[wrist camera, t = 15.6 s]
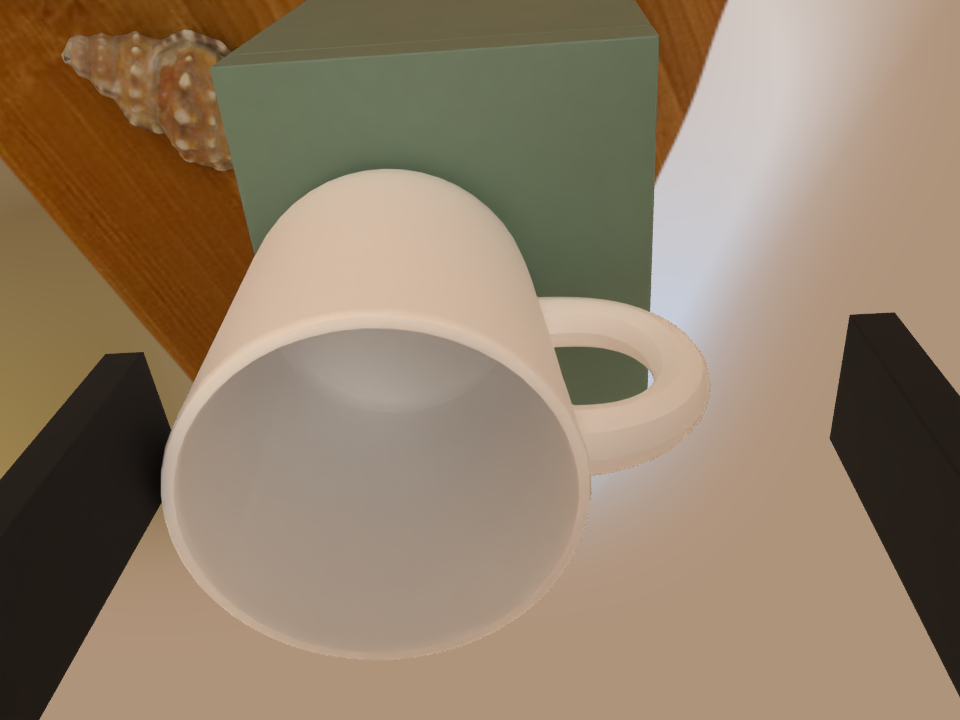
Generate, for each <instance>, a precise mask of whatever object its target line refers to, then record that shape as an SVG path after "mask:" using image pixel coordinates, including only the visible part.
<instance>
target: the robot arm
mask: <svg viewBox="0 0 960 720" xmlns="http://www.w3.org/2000/svg"><path fill="white" fill-rule="evenodd" d="M170 432H171V429H170V426H169V423H168V420H167V418H166V415H165V412H164V409H163V406H162V403H161V400H160V398H159V395H158V392H157V389H156V386H155V384H154V381H153V378H152V375H151V373H150V370H149V367H148V364H147V361H146V358H145V356H144V353H143V352H138V353H119V354H105V355H104V357H103V358H102V359H101V360H100V361H99V363H98V364H97V365H96V366H95V367H94V369H93V370H92V371H91V372H90V373H89V374H88V376H87V377H86V378H85V379H84V381H83V382H82V383H81V384H80V385H79V386H78V388H77V389H76V390H75V391H74V393H72V395H71V396H70V397H69V398H68V399H67V401H66V402H65V403H64V404H63V406H62V407H61V408H60V409H59V410H58V411H57V413H56V414H55V415H54V416H53V417H52V419H51V420H50V421H49V422H48V423H47V425H46V426H45V427H44V428H43V430H42V431H41V432H40V433H39V434H38V435H37V437H36V438H35V439H34V440H33V441H32V442H31V444H30V445H29V446H28V447H27V448H26V450H25V451H24V452H23V453H22V454H21V456H20V457H19V458H18V459H17V460H16V462H15V463H14V464H13V465H12V466H11V468H10V469H9V470H8V471H7V472H6V474H5V475H4V476H3V477H2V478H1V479H0V720H39V719H40V717H41V715H42V714H43V712H44V710H45V709H46V707H47V705H48V703H49V701H50V700H51V698H52V696H53V694H54V692H55V691H56V689H57V687H58V685H59V684H60V682H61V680H62V678H63V677H64V675H65V673H66V671H67V669H68V667H69V666H70V664H71V662H72V660H73V659H74V657H75V655H76V653H77V652H78V650H79V648H80V646H81V645H82V643H83V641H84V639H85V637H86V636H87V634H88V632H89V630H90V628H91V627H92V625H93V623H94V622H95V620H96V618H97V616H98V614H99V612H100V610H101V609H102V607H103V606H104V604H105V602H106V600H107V598H108V597H109V595H110V593H111V591H112V590H113V588H114V586H115V584H116V582H117V581H118V579H119V577H120V575H121V574H122V572H123V570H124V568H125V566H126V565H127V563H128V561H129V559H130V557H131V556H132V554H133V552H134V550H135V549H136V547H137V545H138V543H139V541H140V540H141V538H142V536H143V534H144V533H145V531H146V529H147V527H148V526H149V524H150V522H151V520H152V518H153V517H154V515H155V513H156V511H157V510H158V508H159V506H160V504H161V503H162V500H161V468H162V462H163V456H164V451H165V446H166V444H167V441H168V438H169V435H170ZM830 440H831V442H832V444H833V446H834V448H835V450H836V452H837V454H838V456H839V458H840V460H841V462H842V464H843V466H844V468H845V470H846V472H847V474H848V476H849V478H850V480H851V482H852V484H853V486H854V488H855V489H856V492H857V494H858V496H859V498H860V500H861V502H862V504H863V506H864V508H865V510H866V511H867V514H868V516H869V517H870V520H871V522H872V523H873V526H874V527H875V530H876V532H877V533H878V536H879V537H880V539H881V541H882V543H883V545H884V547H885V549H886V551H887V553H888V555H889V557H890V559H891V561H892V563H893V565H894V567H895V569H896V571H897V573H898V575H899V577H900V579H901V581H902V583H903V585H904V587H905V589H906V591H907V593H908V595H909V597H910V599H911V601H912V603H913V605H914V607H915V609H916V611H917V613H918V615H919V617H920V619H921V621H922V623H923V625H924V627H925V629H926V631H927V633H928V635H929V637H930V639H931V641H932V643H933V645H934V647H935V649H936V651H937V653H938V655H939V656H940V658H941V661H942V663H943V665H944V667H945V669H946V670H947V673H948V675H949V677H950V679H951V681H952V683H953V685H954V686H955V688H956V690H957V692H958V694H959V696H960V396H959V395H958V393H957V392H956V391H955V389H954V388H953V387H952V386H951V384H950V383H949V382H948V380H947V379H946V378H945V377H944V376H943V374H942V373H941V372H940V370H939V369H938V368H937V366H936V365H935V364H934V363H933V361H932V360H931V359H930V357H929V356H928V355H927V354H926V352H925V351H924V350H923V349H922V347H921V346H920V345H919V343H918V342H917V341H916V339H915V338H914V337H913V336H912V334H911V333H910V332H909V330H908V329H907V328H906V327H905V325H904V324H903V323H902V321H901V320H900V319H899V318H898V316H897V315H896V314H895V313H876V314H857V315H850V317H849V324H848V329H847V335H846V341H845V348H844V354H843V360H842V366H841V373H840V378H839V385H838V391H837V397H836V403H835V409H834V416H833V422H832V428H831V434H830Z"/></svg>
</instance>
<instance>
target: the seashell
mask: <svg viewBox="0 0 960 720" xmlns="http://www.w3.org/2000/svg"><path fill="white" fill-rule="evenodd" d="M230 53H231V51H230V50H229V48H228V47H227V46H226V45H225V44H224V43H223V42H221V41H219V40H217V39H214V38H211V37H208V36H206V35H203V34H200V33H197V32H194V31H192V30H182V31H179V32H177V33H174V34H172V35H170V36H168V37H166V38H164V39H162V40H161V39H154V38H152V37H146V36H144V35H142V34H140V33H139V32H137V31H133V32H131V33H129V34H123V35H117V36H114V37H113V36H109V35H107V34H104V33H102V32H101V33H98V34H96V35H92V36H88V37H85V36H83V35H76V36H73V37H71V38H70V39H69V41H68V43H67V45H66V47H65V49H64V51H63V53H62V54H61V55H62V58H63V61H64V62H65V63H66V64H69V65H71V66H72V68H73V69H74V70H75V72H76V73H77V74H78V75H79V76H80V77H83V78H86V79H89V81H90V82H91V83H92V84H93V85H94V87H95V88H96V89H97V91H98V92H99V93H100V94H101V95H104V96H106V97H109V98H112V99H114V100H115V102H116V104H117V105H118V106H119V107H120V109H121V110H122V112H123V114H124V115H125V117H126V118H127V120H128V121H129V122H130V123H131V124H133V125H134V126H137V127H140V128H144V129H147V130H150V131H152V132H154V133H157V134H166V136H167V137H168V138H169V139H170V142H171V144H172V145H173V146H174V147H175V149H176V150H177V152H178V153H179V154H180V156H181V157H182V158H183V159H184V160H185V161H187V162H190V163H192V162H195V163H197V164H200V165H205V166H208V167H212V168H214V169H216V170H219V171H225V170H232V169H234V168H233V164H232V160H231V155H230V151H229V147H228V143H227V139H226V135H225V131H224V126H223V122H222V118H221V114H220V110H219V106H218V102H217V97H216V93H215V89H214V85H213V81H212V77H211V72H210V67H211V66H213V65H214V64H216V63H217V62H219V61H220V60H222V59H223V58H224V57H226V56H227V55H228V54H230Z"/></svg>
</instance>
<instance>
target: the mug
mask: <svg viewBox="0 0 960 720" xmlns="http://www.w3.org/2000/svg"><path fill="white" fill-rule="evenodd" d="M555 347H595V348H603V349H608V350H613V351H617V352H620V353H623V354H626V355H628V356H630V357H632V358H634V359H636V360H637V361H639V362H640V363H642V364H643V365H644V366H645V367H646V368H647V369H648V370H649V371H650V372H651V373H652V376H653V378H654V382H653V384H652V386H651V387H650V388H648V389H647V390H645V391H643V392H642V393H640V394H638V395H635V396H633V397H631V398H628V399H624V400H620V401H616V402H610V403H604V404H593V405H573V404H572V403H571V400H570V397H569V393H568V391H567V388H566V385H565V382H564V379H563V376H562V373H561V370H560V366H559V363H558V360H557V356H556V353H555V350H554V348H555ZM709 394H710V379H709V374H708V370H707V365H706V362H705V360H704V358H703V356H702V354H701V353H700V351H699V349H698V348H697V347H696V345H695V344H694V343H693V342H692V340H691V339H690V338H689V337H688V336H687V335H686V334H685V333H684V332H683V331H681V330H680V329H679V328H678V327H677V326H675V325H674V324H672V323H670V322H669V321H667V320H665V319H664V318H662V317H660V316H658V315H655V314H653V313H651V312H649V311H646V310H644V309H642V308H639V307H635V306H632V305H629V304H625V303H621V302H616V301H611V300H604V299H596V298H584V297H538V296H537V295H536V292H535V289H534V285H533V282H532V279H531V277H530V274H529V271H528V268H527V266H526V263H525V261H524V259H523V257H522V254H521V252H520V250H519V248H518V246H517V244H516V242H515V240H514V238H513V237H512V235H511V234H510V232H509V231H508V229H507V228H506V227H505V225H504V224H503V222H502V221H501V220H500V219H499V218H498V217H497V216H496V215H495V214H494V213H493V212H492V211H491V210H490V209H489V208H488V207H487V206H486V205H485V204H484V203H482V202H481V201H480V200H479V199H477V198H476V197H475V196H474V195H472V194H470V193H469V192H467V191H466V190H464V189H462V188H461V187H459V186H457V185H455V184H453V183H451V182H448V181H446V180H444V179H442V178H439V177H436V176H432V175H429V174H425V173H422V172H416V171H410V170H404V169H376V170H366V171H361V172H356V173H352V174H348V175H344V176H342V177H339V178H336V179H334V180H331V181H328V182H326V183H325V184H323V185H321V186H319V187H317V188H315V189H314V190H312V191H310V192H309V193H307V194H306V195H305V196H303V197H302V198H301V199H299V200H298V201H297V202H295V203H294V204H293V205H292V206H291V207H290V208H289V209H288V210H287V211H286V212H285V213H284V214H283V215H282V216H281V217H280V218H279V219H278V221H277V222H276V223H275V225H274V226H273V227H272V228H271V230H270V231H269V232H268V234H267V235H266V237H265V238H264V240H263V242H262V244H261V246H260V248H259V249H258V251H257V253H256V255H255V257H254V258H253V260H252V263H251V265H250V267H249V269H248V271H247V273H246V275H245V277H244V279H243V281H242V283H241V285H240V287H239V289H238V292H237V294H236V296H235V298H234V300H233V302H232V304H231V306H230V308H229V310H228V312H227V314H226V316H225V318H224V321H223V323H222V325H221V327H220V329H219V331H218V333H217V335H216V337H215V339H214V341H213V343H212V345H211V348H210V350H209V352H208V354H207V356H206V358H205V360H204V362H203V364H202V366H201V368H200V370H199V372H198V374H197V377H196V379H195V381H194V383H193V385H192V387H191V389H190V391H189V393H188V395H187V397H186V400H185V402H184V404H183V406H182V408H181V410H180V412H179V414H178V416H177V418H176V420H175V422H174V424H173V427H172V430H171V432H170V435H169V438H168V441H167V444H166V446H165V451H164V456H163V462H162V468H161V500H162V506H163V512H164V518H165V522H166V525H167V528H168V531H169V534H170V537H171V540H172V543H173V545H174V547H175V549H176V551H177V553H178V555H179V557H180V559H181V560H182V562H183V564H184V565H185V567H186V568H187V570H188V571H189V572H190V574H191V575H192V577H193V578H194V579H195V581H196V582H197V583H198V584H199V585H200V586H201V587H202V589H203V590H204V591H205V592H206V593H207V594H208V595H209V596H210V597H211V598H212V599H213V600H214V601H215V602H216V603H218V604H219V605H220V606H221V607H223V609H225V610H226V611H227V612H228V613H229V614H231V615H232V616H234V617H235V618H237V619H238V620H240V621H242V622H243V623H244V624H246V625H247V626H249V627H251V628H252V629H254V630H256V631H259V632H260V633H262V634H264V635H266V636H268V637H270V638H272V639H275V640H277V641H280V642H282V643H285V644H288V645H290V646H293V647H295V648H299V649H303V650H307V651H311V652H314V653H317V654H323V655H328V656H334V657H340V658H348V659H360V660H397V659H406V658H414V657H421V656H426V655H431V654H436V653H440V652H444V651H448V650H451V649H454V648H457V647H460V646H463V645H467V644H469V643H471V642H474V641H476V640H478V639H480V638H483V637H486V636H488V635H490V634H492V633H493V632H495V631H497V630H499V629H501V628H502V627H504V626H506V625H508V624H509V623H511V622H512V621H514V620H515V619H516V618H518V617H519V616H521V615H522V614H524V613H525V612H526V611H528V610H529V609H530V608H531V607H532V606H533V605H534V604H536V603H537V602H538V601H539V600H540V599H541V598H542V597H543V596H544V595H545V594H546V593H547V592H548V591H549V590H550V589H551V587H552V586H553V585H554V584H555V583H556V582H557V581H558V579H559V578H560V577H561V575H562V573H563V572H564V571H565V569H566V567H567V566H568V565H569V563H570V561H571V560H572V558H573V556H574V554H575V552H576V550H577V547H578V545H579V543H580V541H581V538H582V535H583V532H584V529H585V525H586V522H587V519H588V515H589V508H590V500H591V476H594V475H601V474H606V473H611V472H615V471H619V470H623V469H627V468H631V467H634V466H637V465H639V464H642V463H645V462H647V461H650V460H653V459H655V458H656V457H658V456H660V455H662V454H664V453H666V452H667V451H669V450H671V449H672V448H673V447H674V446H676V445H677V444H678V443H680V442H681V441H682V440H683V439H685V438H686V437H687V436H688V435H689V434H690V433H691V431H692V430H693V429H694V428H695V427H696V425H697V424H698V423H699V422H700V420H701V418H702V416H703V413H704V411H705V409H706V406H707V403H708V400H709Z"/></svg>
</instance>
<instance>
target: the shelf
mask: <svg viewBox="0 0 960 720" xmlns="http://www.w3.org/2000/svg"><path fill="white" fill-rule="evenodd" d="M658 58H659V35H658V34H657V32H656V31H655V29H654V28H653V27H652V25H651V23H650V22H649V20H648V19H647V17H646V16H645V15H644V13H643V12H642V10H641V9H640V7H639V6H638V4H637V3H636V1H635V0H306V1H305V2H303V3H302V4H300V5H299V6H297V7H296V8H294V9H293V10H292V11H290V12H289V13H287V14H286V15H284V16H283V17H282V18H280V19H279V20H277V21H276V22H274V23H273V24H271V25H270V26H269V27H267V28H266V29H264V30H263V31H261V32H260V33H259V34H257V35H256V36H254V37H253V38H251V39H250V40H248V41H247V42H246V43H244V44H243V45H241V46H240V47H238V48H237V49H236V50H234V51H233V52H231V53H230V54H228V55H227V56H226V57H224V58H223V59H222V60H220V61H219V62H217V63H216V64H214V65H213V66H211V67H210V72H211V77H212V81H213V85H214V89H215V93H216V97H217V102H218V106H219V110H220V114H221V118H222V122H223V126H224V131H225V135H226V139H227V143H228V147H229V151H230V155H231V160H232V164H233V168H234V172H235V176H236V180H237V185H238V189H239V193H240V197H241V201H242V205H243V209H244V214H245V218H246V222H247V226H248V230H249V234H250V239H251V243H252V247H253V251H254V255H256V253H257V251H258V249H259V248H260V246H261V244H262V242H263V240H264V238H265V237H266V235H267V234H268V232H269V231H270V230H271V228H272V227H273V226H274V225H275V223H276V222H277V221H278V219H279V218H280V217H281V216H282V215H283V214H284V213H285V212H286V211H287V210H288V209H289V208H290V207H291V206H292V205H293V204H294V203H295V202H297V201H298V200H299V199H301V198H302V197H303V196H305V195H306V194H307V193H309V192H310V191H312V190H314V189H315V188H317V187H319V186H321V185H323V184H325V183H326V182H328V181H331V180H334V179H336V178H339V177H342V176H344V175H348V174H352V173H356V172H361V171H366V170H376V169H404V170H410V171H416V172H422V173H425V174H429V175H432V176H436V177H439V178H442V179H444V180H446V181H448V182H451V183H453V184H455V185H457V186H459V187H461V188H462V189H464V190H466V191H467V192H469V193H470V194H472V195H474V196H475V197H476V198H477V199H479V200H480V201H481V202H482V203H484V204H485V205H486V206H487V207H488V208H489V209H490V210H491V211H492V212H493V213H494V214H495V215H496V216H497V217H498V218H499V219H500V220H501V221H502V222H503V224H504V225H505V227H506V228H507V229H508V231H509V232H510V234H511V235H512V237H513V238H514V240H515V242H516V244H517V246H518V248H519V250H520V252H521V254H522V257H523V259H524V261H525V263H526V266H527V268H528V271H529V274H530V277H531V279H532V282H533V285H534V289H535V292H536V295H537V296H538V297H584V298H596V299H604V300H611V301H616V302H621V303H625V304H629V305H632V306H635V307H639V308H642V309H644V310H646V311H649V312H650V296H651V265H652V237H653V207H654V177H655V148H656V118H657V88H658ZM554 350H555V353H556V356H557V360H558V363H559V366H560V370H561V373H562V376H563V379H564V382H565V385H566V388H567V391H568V393H569V397H570V400H571V403H572V404H573V405H593V404H604V403H610V402H616V401H620V400H624V399H628V398H631V397H633V396H635V395H638V394H640V393H642V392H643V391H645V390H647V386H648V384H647V383H648V369H647V368H646V367H645V366H644V365H643V364H642V363H640V362H639V361H637V360H636V359H634V358H632V357H630V356H628V355H626V354H623V353H620V352H617V351H613V350H608V349H603V348H595V347H555V348H554Z"/></svg>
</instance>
